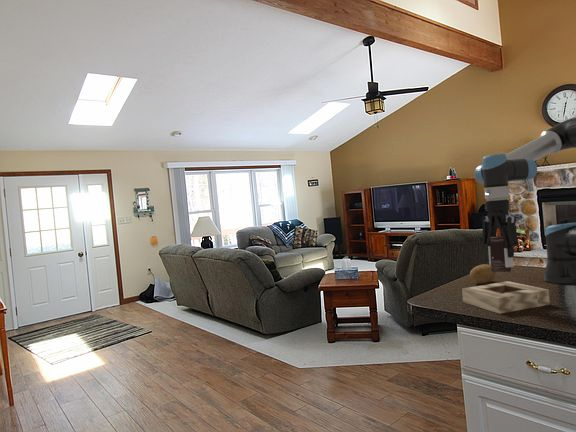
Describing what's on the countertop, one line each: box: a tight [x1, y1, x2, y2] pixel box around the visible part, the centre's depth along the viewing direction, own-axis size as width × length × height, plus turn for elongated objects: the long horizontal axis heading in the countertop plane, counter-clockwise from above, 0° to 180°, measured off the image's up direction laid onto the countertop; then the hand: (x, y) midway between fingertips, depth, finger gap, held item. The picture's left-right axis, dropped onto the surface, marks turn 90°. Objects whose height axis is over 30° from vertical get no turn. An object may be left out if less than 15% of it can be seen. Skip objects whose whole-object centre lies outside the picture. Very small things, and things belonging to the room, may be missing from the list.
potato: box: [469, 263, 496, 285], centre depth 181 cm, size 10×14×8 cm
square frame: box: [461, 280, 551, 314], centre depth 148 cm, size 20×18×5 cm
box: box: [490, 235, 512, 273], centre depth 148 cm, size 6×4×12 cm
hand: (501, 265), depth 148 cm, fingers closed on box, 7 cm apart
